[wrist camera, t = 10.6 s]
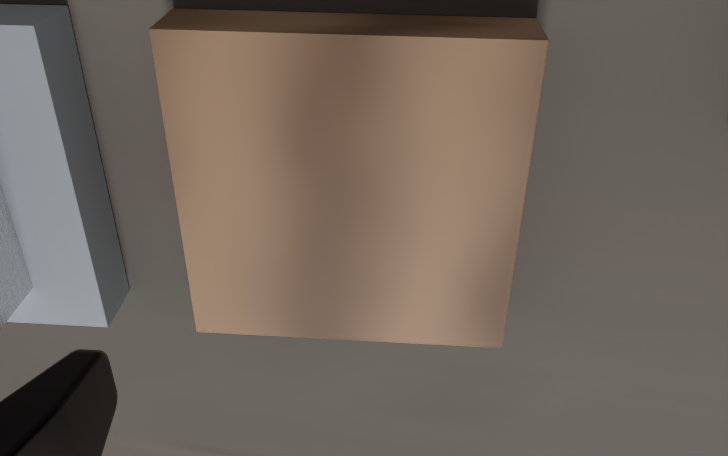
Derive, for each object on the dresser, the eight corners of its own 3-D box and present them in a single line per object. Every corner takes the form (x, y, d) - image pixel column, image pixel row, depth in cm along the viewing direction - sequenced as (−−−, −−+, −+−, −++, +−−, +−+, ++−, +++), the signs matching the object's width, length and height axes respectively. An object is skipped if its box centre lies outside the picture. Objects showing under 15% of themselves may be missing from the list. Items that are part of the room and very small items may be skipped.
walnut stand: (537, 18, 19) (548, 40, 17) (496, 308, 24) (502, 348, 22) (173, 8, 19) (149, 28, 17) (212, 294, 24) (196, 331, 23)
